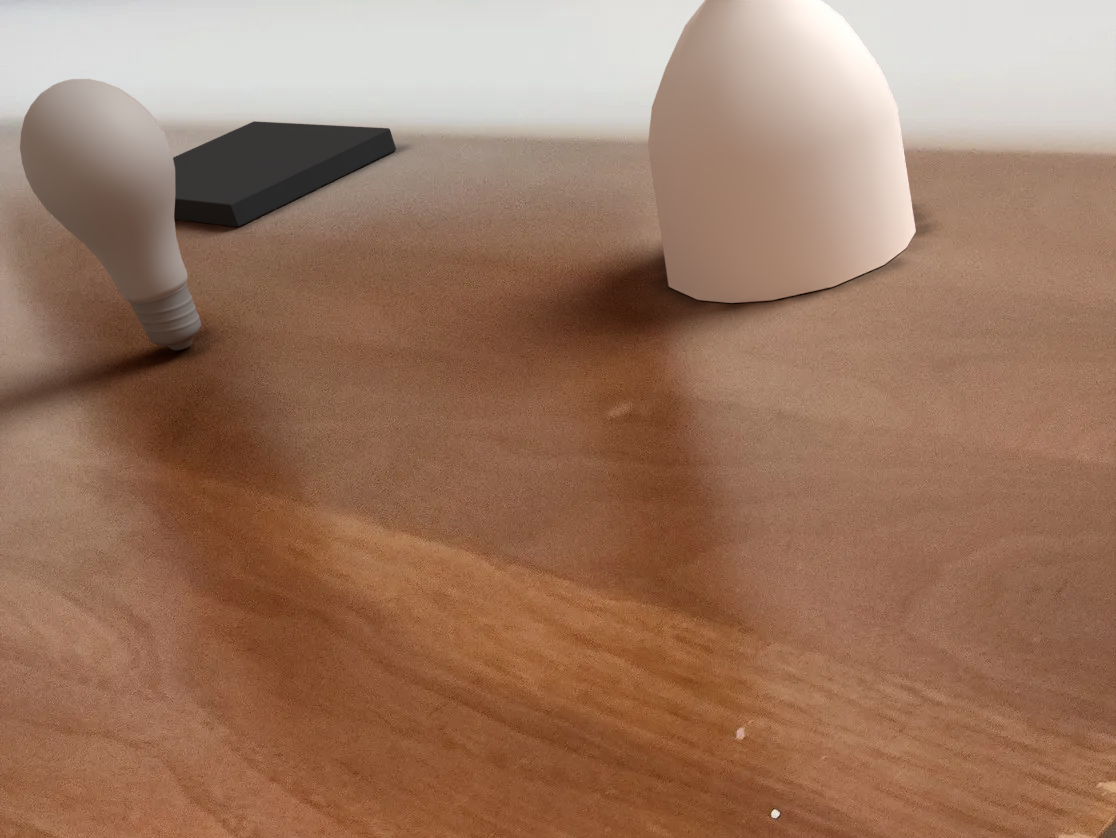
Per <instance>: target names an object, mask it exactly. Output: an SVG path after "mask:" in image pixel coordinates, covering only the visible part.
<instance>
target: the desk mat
mask: <svg viewBox="0 0 1116 838" xmlns="http://www.w3.org/2000/svg"><path fill="white" fill-rule="evenodd" d="M396 150H397V147H396V144H395V141H394V138H393V134H392V131H391V129H390V128H389V127H371V126H369V127H368V126H355V125H354V126H352V125H351V126H350V125H335V124H334V125H333V124H332V125H331V124H316V123H315V124H314V123H313V124H311V123H294V122H293V123H292V122H274V121H273V122H272V121H255V120H254V121H251V122H249V123H246V124H244V125H243V126H240V127H238V128H235V129H234V130H230V131H229V132H227V133H224V134H222V135H220V136H218V137H216V138H213V139H211V140H209V141H207V142H205V143H202V144H199V145H197V146H195V147H194V148H191V149H189V150H187V151H184V152H182V153H180V154H178V155H175V156H173V161H174V165H175V210H174V220H179V221H185V222H186V221H187V222H195V223H204V224H210V225H221V226H228V227H235V228H239V227H242V226H243V225H246V224H248V223H250V222H253V221H254V220H256V219H258V218H260V217H262V216H264V215H267V214H269V213H270V212H273V211H274V210H276V209H279V208H282V207H283V206H285V205H287V204H289V203H291V202H294V201H295V200H297V199H299V198H301V197H303V196H306V195H307V194H310V193H312V192H313V191H316V190H317V189H319V188H322V187H324V186H326V185H328V184H330V183H332V182H334V181H336V180H338V179H340V178H342V177H345V176H346V175H348V174H350V173H352V172H354V171H357V170H359V169H361V168H363V167H365V166H367V165H369V164H371V163H373V162H375V161H377V160H379V159H381V158H383V157H385V156H387V155H390V154H392V153H393V152H396Z"/></svg>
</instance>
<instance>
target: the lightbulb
mask: <svg viewBox="0 0 1116 838" xmlns="http://www.w3.org/2000/svg"><path fill="white" fill-rule="evenodd" d="M170 145H171V144H170V143H169V140H168V138H167V136H166V133H165V132H164V130H163V129H162V127H161V125H160V124H159V122H158V121H157V119H156V118H155V117H154V115H153V114H152V113H151V112H150V110H149V109H148V108H146V107H145V105H143V104H142V103H141V102H140V101H138V99H136V98H135V97H134V96H132V95H131V94H129V93H127V92H126V91H125V90H123V89H121V88H120V87H119V86H116V85H113V84H111V83H107V82H105V81H101V80H95V79H92V78H72V79H66V80H63V81H59V82H57V83H54V84H53V85H51V86H49V87H48V88H46V89H45V90H43V91H42V92H40V94H39V95H38V96H37V97H36V98H35V99H34V101H33V102H32V103H31V104H30V106H29V109H28V110H27V111H26V114H25V115H24V118H23V123H22V127H21V129H20V142H19V151H20V159H21V165H22V167H23V172H24V175H25V178H26V180H27V182H28V184H29V186H30V188H31V190H32V192H33V194H34V195H35V197H36V198H37V199H38V201H39V202H40V203H41V204H42V205H43V207H44V209H45V210H46V211H47V212H48V213H49V214H50V215H51V216H53V218H54V219H55V220H56V221H58V222H59V223H60V224H61V225H62V226H63V227H64V228H65V229H66V230H67V231H68V232H70V234H72V235H73V236H74V237H75V238H77V239H78V240H79V241H80V242H82V244H84V245H85V246H86V247H87V248H88V249H89V251H90V252H91V253H92V254H93V255H94V257H96V259H97V260H98V261H99V262H100V263H101V265H102V266H103V268H104V269H105V271H106V272H107V274H108V275H109V277H110V278H111V280H112V282H113V283H114V284H115V287H116V289H117V291H118V293H119V294H120V296H121V297H122V298H123V300H125V301H127V302H129V304H130V305H131V308H132V311H133V312H134V313H135V315H136V317H137V320H138V321H139V323H140V325H141V326H142V329H143V331H144V332H145V334H146V336H147V338H148V340H149V341H150V342H151V343H153V344H155V345H157V346H160V347H161V346H162V347H164V346H165V347H168V349H171V350H172V351H181V350H186V349H187V348H189V347H190V346H191V345H193V340H194V337H195V336H196V335H198V333H199V331H200V330H201V327H202V321H201V319H200V318H201V317H200V314H199V313H198V310H197V307H196V304H195V303H194V299H193V296H192V294H191V292H190V290H189V287H188V278H189V277H188V271H187V268H186V266H185V263H184V261H183V258H182V255H181V250H180V247H179V243H178V242H179V241H178V238H177V232H176V223H175V219H174V210H175V165H174V161H173V157H174V156H173V151H172V147H171V146H170Z"/></svg>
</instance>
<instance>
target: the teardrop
mask: <svg viewBox="0 0 1116 838" xmlns="http://www.w3.org/2000/svg"><path fill="white" fill-rule="evenodd" d="M650 112H651V113H650V122H649V129H648V130H649V131H648V142H647V149H648V156H649V162H650V170H651V175H652V176H651V177H652V182H653V190H654V196H655V202H656V208H657V216H658V222H659V223H658V224H659V229H660V236H661V242H662V243H661V244H662V250H663V257H664V262H665V263H664V264H665V271H666V278H667V286H668V287H669V288H671V289H673V290H675V291H678V292H679V293H682V294H684V295H686V296H689V297H691V298H692V299H695V300H697V301H705V302H718V303H727V304H728V303H730V304H734V303H751V302H752V303H753V302H765V301H775V300H778V299H782V298H784V299H785V298H788V297H792V296H798V295H800V294H801V295H802V294H805V293H806V294H807V293H811V292H815V291H821V290H825V289H829V288H834V287H835V286H838V285H840V284H843V283H845V282H847V281H850V280H852V279H854V278H857V277H859V276H861V275H863V274H866V273H868V272H870V271H874V270H875V269H878V268H880V267H883V266H884V265H886V264H887V263H889V262H890V261H892V260H893V259H894V258H895V257H897V256H898V255H899V254H901V253H902V252H903V251H904V250H907V248H908V246H909V244H910V243H911V241H912V239H913V238H914V236H915V234H916V232H917V231H916V224H915V223H916V222H915V216H914V210H913V203H912V197H911V189H910V182H909V177H908V176H909V175H908V169H907V163H906V155H905V150H904V143H903V142H904V141H903V137H902V128H901V122H900V116H899V108H898V104H897V102H896V100H895V98H894V95H893V92H892V90H891V88H890V85H889V83H888V81H887V78H886V76H885V74H884V71H883V70H882V67H881V66H880V65H879V63H878V62H877V60H876V59H875V57H874V56H873V55H872V53H871V52H870V51H869V49H868V48H867V47H866V45H865V44H864V42H863V41H862V39H861V38H860V36H859V35H858V34H857V33H856V31H855V30H854V29H853V28H852V26H851V25H850V24H849V23H848V21H847V20H846V18H844V16H842V15H841V14H839V13H838V12H837V11H836V10H835V9H833V8H832V7H831V6H830V5H829V4H827V3H826V2H824V1H823V0H704V1H703V2H702V3H701V4H700V6H699V7H698V8H697V10H696V11H695V12H694V14H693V15H692V16H691V17H690V19H689V20H688V21H687V22H686V23H685V25H684V27H683V29H682V31H681V33H680V35H679V38H678V40H677V42H676V44H675V46H674V49H673V51H672V53H671V55H670V57H669V60H668V61H667V63H666V66H665V68H664V70H663V74H662V76H661V79H660V82H659V86H658V88H657V91H656V94H655V97H654V100H653V103H652V105H651V111H650Z"/></svg>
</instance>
